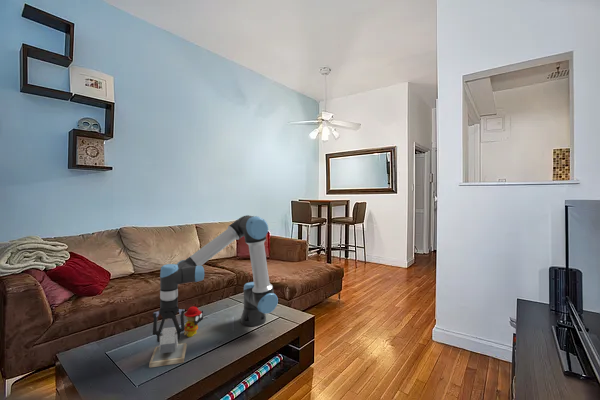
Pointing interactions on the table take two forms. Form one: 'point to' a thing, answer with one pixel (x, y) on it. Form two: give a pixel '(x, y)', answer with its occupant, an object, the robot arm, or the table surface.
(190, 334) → the toy
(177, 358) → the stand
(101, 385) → the table surface
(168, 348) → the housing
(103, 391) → the table surface
